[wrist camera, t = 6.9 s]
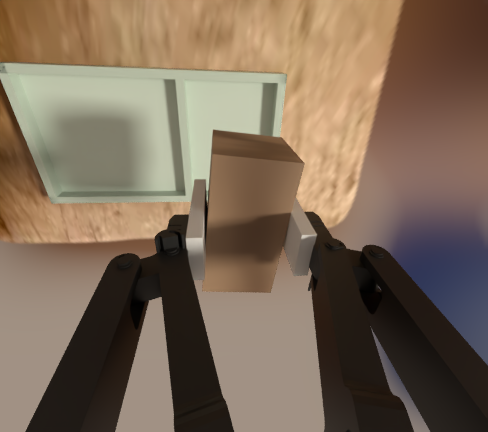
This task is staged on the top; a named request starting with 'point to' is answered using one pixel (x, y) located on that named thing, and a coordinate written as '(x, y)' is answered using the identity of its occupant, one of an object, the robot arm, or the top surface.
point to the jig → (134, 125)
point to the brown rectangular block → (248, 210)
